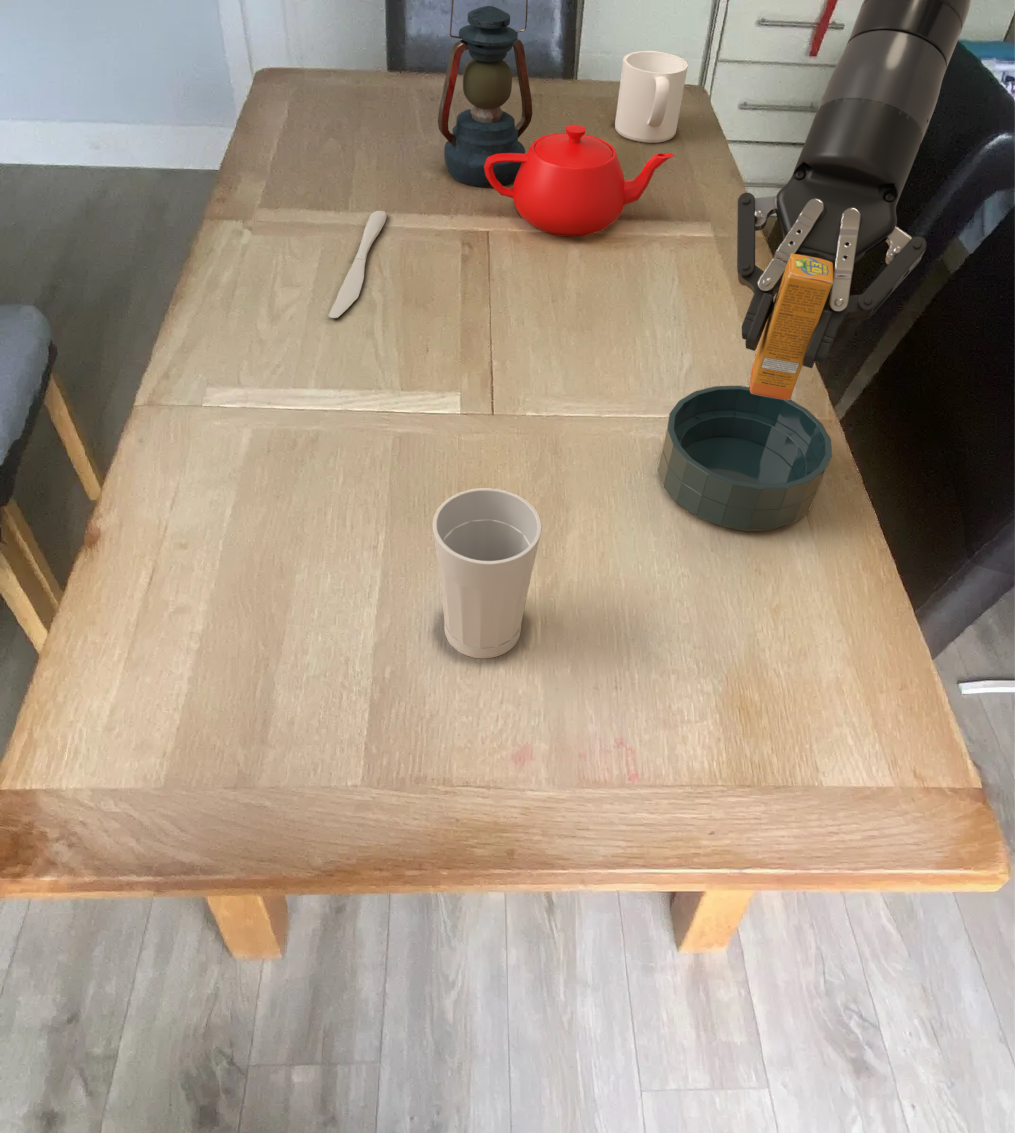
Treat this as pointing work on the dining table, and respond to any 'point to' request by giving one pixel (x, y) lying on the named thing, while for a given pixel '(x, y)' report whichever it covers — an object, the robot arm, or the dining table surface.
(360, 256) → the butter knife
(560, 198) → the teapot
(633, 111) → the mug
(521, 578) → the cup
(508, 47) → the lantern
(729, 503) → the bowl
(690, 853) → the dining table surface
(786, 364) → the supplement box
